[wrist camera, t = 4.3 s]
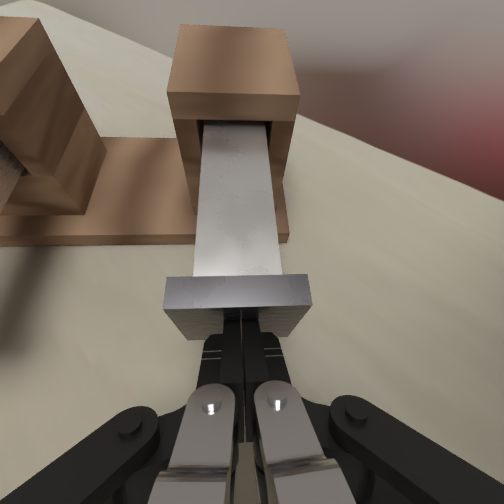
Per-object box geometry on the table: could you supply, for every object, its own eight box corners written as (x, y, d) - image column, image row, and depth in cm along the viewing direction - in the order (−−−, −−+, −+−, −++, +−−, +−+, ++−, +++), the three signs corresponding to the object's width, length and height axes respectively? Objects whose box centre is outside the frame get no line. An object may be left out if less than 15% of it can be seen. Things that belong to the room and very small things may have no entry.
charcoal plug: (266, 145, 21) (274, 76, 17) (287, 336, 14) (312, 305, 9) (202, 144, 21) (192, 74, 16) (187, 340, 13) (162, 309, 9)
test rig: (274, 151, 29) (294, 17, 19) (286, 242, 23) (325, 118, 13) (38, 148, 27) (-78, -1, 17) (-14, 246, 21) (-240, 106, 11)
